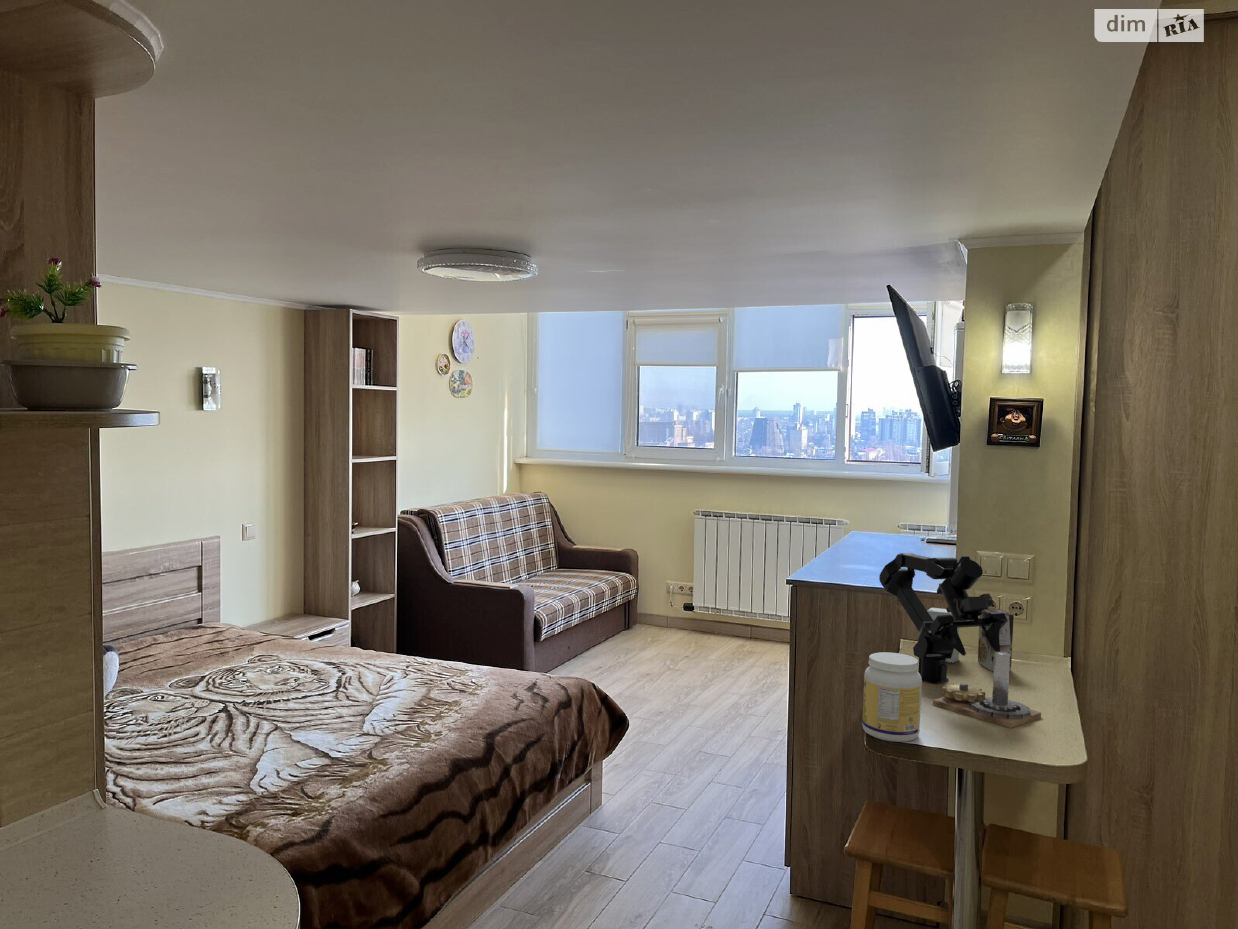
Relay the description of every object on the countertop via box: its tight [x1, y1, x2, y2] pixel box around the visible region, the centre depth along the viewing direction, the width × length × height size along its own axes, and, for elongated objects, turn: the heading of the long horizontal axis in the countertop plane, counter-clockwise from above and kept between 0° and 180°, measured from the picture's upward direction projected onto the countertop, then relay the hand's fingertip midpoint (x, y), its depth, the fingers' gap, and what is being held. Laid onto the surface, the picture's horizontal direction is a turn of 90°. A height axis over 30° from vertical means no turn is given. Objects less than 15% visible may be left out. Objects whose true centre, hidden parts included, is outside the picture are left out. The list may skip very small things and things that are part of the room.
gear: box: [983, 652, 1017, 712], centre depth 208 cm, size 7×7×14 cm
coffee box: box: [977, 608, 1015, 672], centre depth 252 cm, size 9×6×16 cm
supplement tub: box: [861, 651, 923, 743], centre depth 193 cm, size 12×12×17 cm
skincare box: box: [927, 607, 960, 664], centre depth 259 cm, size 8×6×15 cm
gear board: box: [932, 683, 1042, 729], centre depth 212 cm, size 21×14×5 cm, turn 37°
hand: (981, 653), depth 216 cm, fingers open, 9 cm apart
